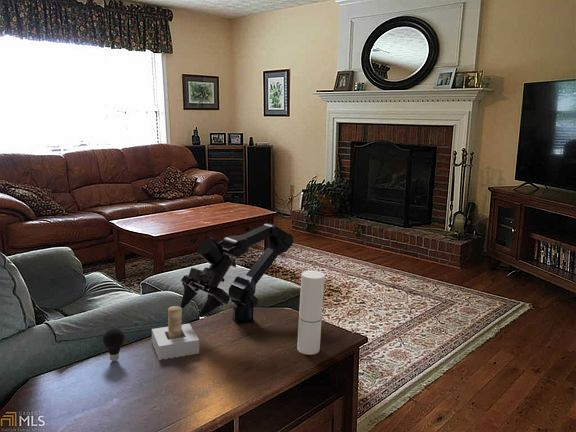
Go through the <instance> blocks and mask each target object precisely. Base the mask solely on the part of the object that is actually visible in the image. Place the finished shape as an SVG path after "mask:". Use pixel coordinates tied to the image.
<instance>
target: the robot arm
mask: <svg viewBox="0 0 576 432" xmlns="http://www.w3.org/2000/svg"><path fill="white" fill-rule="evenodd" d="M266 239H267V247H266V249H264V251H263V252H262V253H261V255H260V256H259V257H258V259H257V260H256V261H255V262H254V264H253V265H252V267H251V268H250V269H249V270H248V271H247V272H246V274H245V275H244V276H242V277H241V276H238V275H237V276H236V277H235V279H234V280H233V281H232V282H231V283H230V284H229V285H230V286H229V287H228V290H227V291H228V292H226V291H225V290H224V289H223V288H220V287H219V285H220V284H221V283H224V282H225V281H226V279H225V278H224V277H225V276H226V274H227V272H228V271H229V269H230V268H231V267H233V268H237V263H236V259H235V258H239V257H241V256H243V255H244V254H245V253H246V252H247V251H248V249H249V248H250V247H251V246H252V247H253V246H254V245H256V244H259V243H260V242H262V241H264V240H266ZM293 244H294V237H293V235H292V234H291V233H290V232H286V231H284V230H283V229H281V228H280V227H279V226H277V225H276V224H272V223H269V222H266V223H264V224H263V225H260V226H259V227H256V228H255V229H254V228H253V229H252V230H250V231H248V232H245V233H243V234H240V235H239V234H238V235H229V236H226V237H224V238H223V239H222V240H221V241H217V240H216V238H215V237H212V236H210V237H208V239H205V240H204V241H202V242H201V243H199V245H198V246H197V250H196V251H197V253H198V255H199V256H201V258H203V259H204V260H205V262H207V263H208V264H209V265H210V266H208V267H204V269H198V268H195V267H191V268H190V270H189V273H188V274H186V275H184V276H183V277H182V278H181V279H180V282H181V284H182V286H183V290H184V291H183V295H182V298H181V303H180V306H179V307H181V308H182V310H183V309H184V308H186V306H188V304H189V303H190V302H191V301H192V300H193V299H194V298H195V297H196V296H197V295H198V292H199V291H202V292H205V293H206V294H207V297H206V298H207V299H206V301H205V303H204V305H203V307H202V308H201V310H200V312H199V313H198V317H199V318H202V317H205V316H206V315H207V314H208V313H210V312H212V311H214V310H215V309H217V308H219V307H220V306H222V307H223V306H224V305H226V306H227V305H228V304H229V303H230V302H231V303H233V305H234V306H233V307H232V317H231V318H232V319H233V320H234V321H235V323H236V324H237V325H241V324H242V325H243V324H249V323H255V322H256V319H255V318H254V310H255V309H254V308H255V307H256V306H257V305H258V303H259V298H258V297H257V296H255V293H256V289H257V288H256V287H257V284H258V282H259V281H260V280H261V278H263V276H264V275H265V273H266V272H267V271H268V270H269V268H270V267H271V265H272V264H273V262H275V260H276V259H277V257H278V256H279V255H282V254H284V253H286V252H287V251H288V250H289V249H290V248H291V247H292V246H293ZM229 255H230V256H229ZM231 256H233V257H235V258H233V257H231Z"/></svg>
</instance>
